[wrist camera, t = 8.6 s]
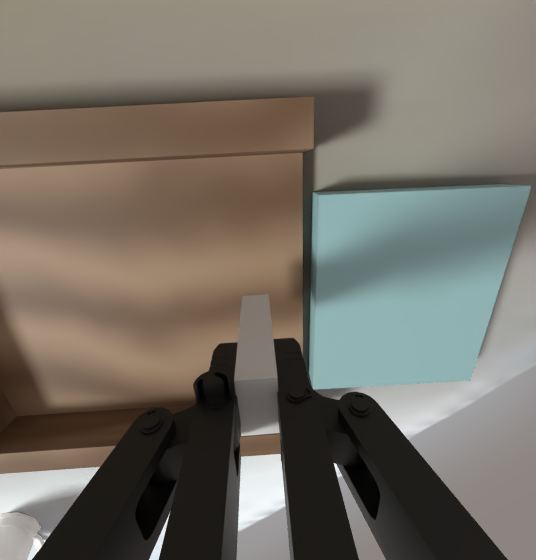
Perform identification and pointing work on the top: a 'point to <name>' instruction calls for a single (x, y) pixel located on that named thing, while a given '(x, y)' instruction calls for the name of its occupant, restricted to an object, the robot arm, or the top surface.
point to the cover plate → (406, 281)
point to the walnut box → (138, 262)
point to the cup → (18, 536)
